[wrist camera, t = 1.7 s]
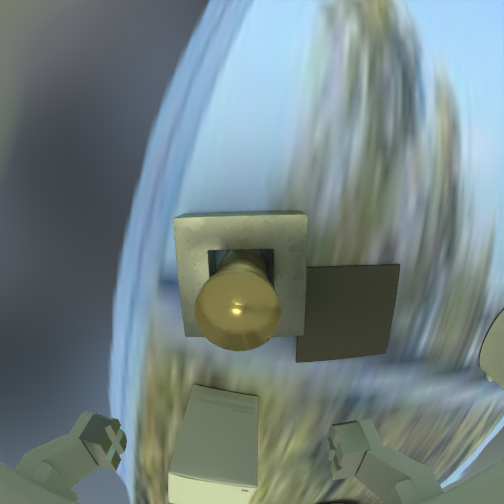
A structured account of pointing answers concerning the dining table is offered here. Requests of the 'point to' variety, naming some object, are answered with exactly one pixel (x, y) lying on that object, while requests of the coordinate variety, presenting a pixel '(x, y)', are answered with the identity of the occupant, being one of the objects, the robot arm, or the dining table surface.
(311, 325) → the mat
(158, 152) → the dining table surface
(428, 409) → the dining table surface
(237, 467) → the supplement box
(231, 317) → the knob
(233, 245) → the housing
